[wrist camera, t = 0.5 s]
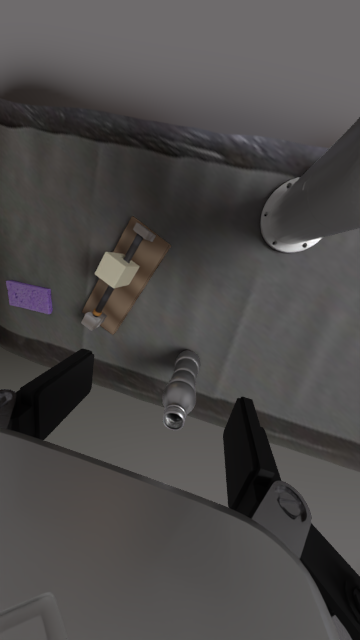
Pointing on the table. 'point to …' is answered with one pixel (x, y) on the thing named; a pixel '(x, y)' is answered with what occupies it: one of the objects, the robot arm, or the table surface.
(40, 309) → the sponges
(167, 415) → the plastic bottle
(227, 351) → the table surface
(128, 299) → the wooden linear slide
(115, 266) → the cream foam block
